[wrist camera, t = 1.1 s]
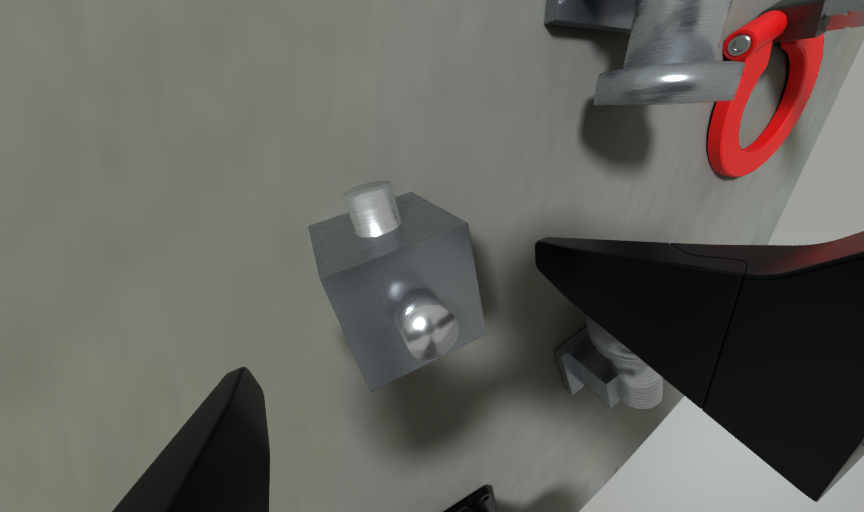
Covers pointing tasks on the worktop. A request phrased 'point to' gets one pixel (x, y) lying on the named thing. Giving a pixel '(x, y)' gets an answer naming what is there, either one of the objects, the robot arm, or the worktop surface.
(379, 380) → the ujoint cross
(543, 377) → the worktop surface
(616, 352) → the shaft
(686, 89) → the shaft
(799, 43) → the tow hook
